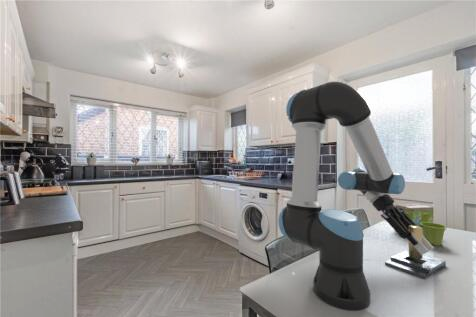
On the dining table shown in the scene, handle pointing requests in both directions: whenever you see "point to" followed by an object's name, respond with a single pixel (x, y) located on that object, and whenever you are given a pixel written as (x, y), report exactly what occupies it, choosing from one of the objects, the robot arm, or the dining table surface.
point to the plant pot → (433, 232)
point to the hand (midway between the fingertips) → (428, 251)
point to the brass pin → (418, 233)
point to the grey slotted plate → (428, 261)
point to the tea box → (418, 213)
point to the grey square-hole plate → (410, 268)
